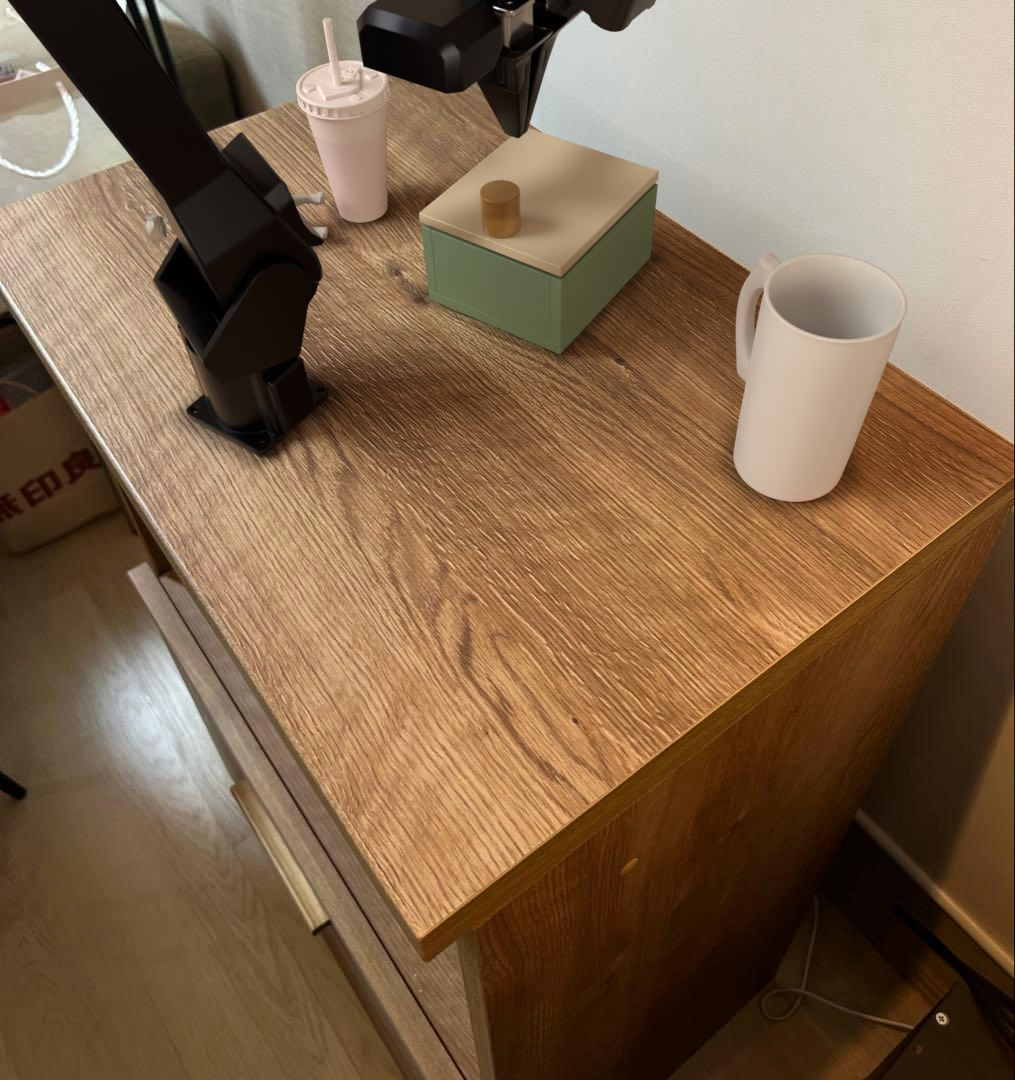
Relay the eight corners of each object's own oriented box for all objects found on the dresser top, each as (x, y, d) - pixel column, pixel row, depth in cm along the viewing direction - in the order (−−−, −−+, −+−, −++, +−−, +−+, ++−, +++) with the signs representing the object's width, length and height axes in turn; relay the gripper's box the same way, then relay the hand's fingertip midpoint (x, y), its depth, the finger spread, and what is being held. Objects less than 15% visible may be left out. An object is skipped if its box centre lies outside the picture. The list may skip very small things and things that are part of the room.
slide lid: (419, 222, 62) (414, 176, 60) (523, 135, 68) (522, 90, 66) (560, 277, 58) (561, 231, 56) (658, 180, 64) (662, 134, 62)
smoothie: (305, 223, 73) (262, 31, 62) (345, 177, 76) (311, -13, 65) (382, 240, 71) (352, 46, 60) (419, 193, 75) (397, 1, 64)
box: (428, 299, 67) (420, 226, 62) (525, 211, 73) (524, 139, 68) (560, 355, 63) (561, 281, 59) (650, 257, 69) (658, 183, 65)
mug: (871, 482, 56) (937, 315, 46) (771, 523, 54) (819, 359, 45) (769, 374, 62) (810, 206, 52) (677, 408, 60) (702, 241, 50)
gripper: (545, -78, 37) (545, 263, 50) (757, -217, 47) (713, 99, 59) (324, -131, 41) (375, 197, 54) (559, -249, 51) (556, 53, 63)
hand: (516, 134), depth 57 cm, fingers closed
